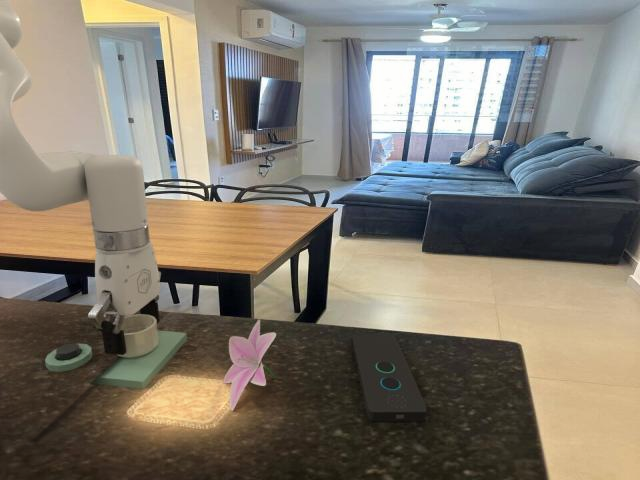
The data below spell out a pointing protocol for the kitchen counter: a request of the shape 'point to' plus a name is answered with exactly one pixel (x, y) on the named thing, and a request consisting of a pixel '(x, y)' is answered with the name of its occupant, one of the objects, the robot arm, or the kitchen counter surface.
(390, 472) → the kitchen counter surface
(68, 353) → the dark grey puck
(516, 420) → the kitchen counter surface
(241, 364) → the lily
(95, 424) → the kitchen counter surface
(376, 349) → the smart home device
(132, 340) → the bowl
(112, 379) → the mint green pieces
